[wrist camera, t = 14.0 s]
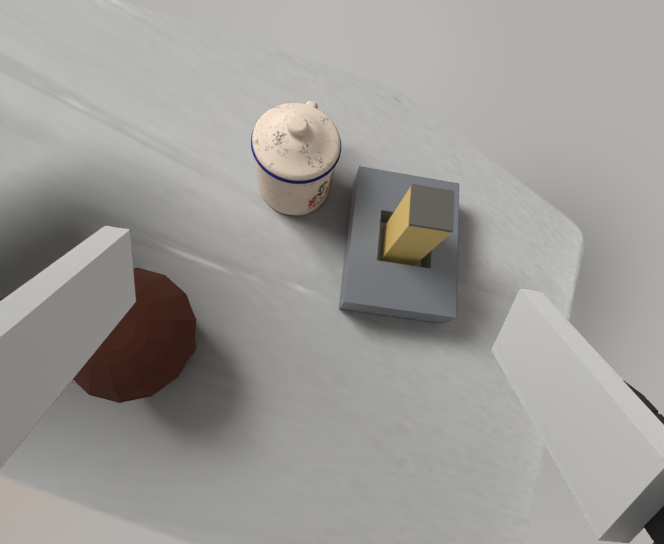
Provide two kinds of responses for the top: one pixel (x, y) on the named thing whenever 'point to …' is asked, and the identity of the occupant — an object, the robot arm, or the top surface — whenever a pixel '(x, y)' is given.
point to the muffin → (143, 343)
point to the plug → (417, 225)
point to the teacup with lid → (295, 157)
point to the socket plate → (392, 278)
